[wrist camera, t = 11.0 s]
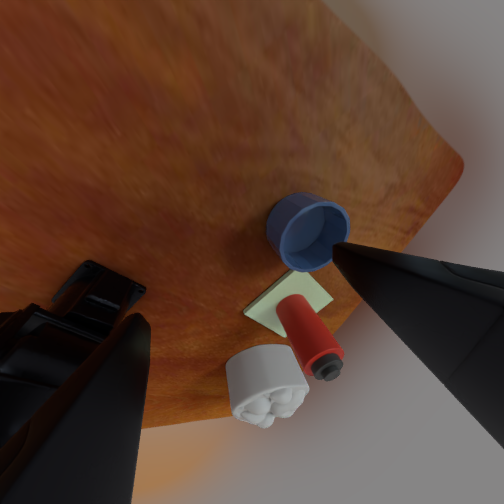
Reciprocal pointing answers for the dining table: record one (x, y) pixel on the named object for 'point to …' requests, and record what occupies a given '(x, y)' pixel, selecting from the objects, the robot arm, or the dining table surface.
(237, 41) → the dining table surface
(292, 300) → the bottle
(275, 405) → the lumpy-topped squat cylinder
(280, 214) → the cup
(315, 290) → the tile
